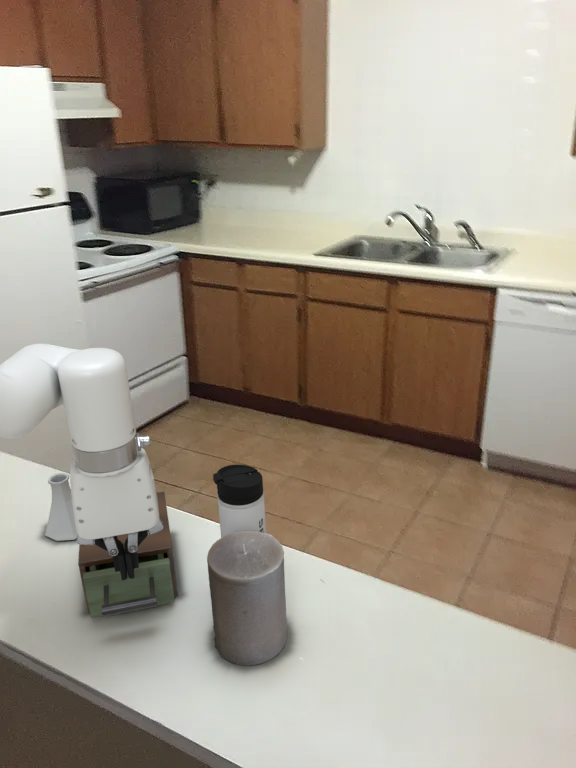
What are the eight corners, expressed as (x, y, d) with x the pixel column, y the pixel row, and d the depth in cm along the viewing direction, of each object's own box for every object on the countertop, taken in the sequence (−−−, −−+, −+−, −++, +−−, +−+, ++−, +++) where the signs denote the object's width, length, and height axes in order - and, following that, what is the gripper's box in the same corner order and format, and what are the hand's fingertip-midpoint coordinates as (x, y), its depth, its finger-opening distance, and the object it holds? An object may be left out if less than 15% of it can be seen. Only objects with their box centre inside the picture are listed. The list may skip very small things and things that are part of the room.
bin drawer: (178, 628, 89) (172, 588, 86) (89, 646, 87) (81, 605, 84) (167, 544, 106) (162, 508, 103) (93, 557, 103) (86, 520, 101)
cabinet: (178, 595, 96) (172, 547, 93) (87, 612, 94) (78, 563, 90) (170, 535, 109) (164, 491, 106) (90, 549, 107) (82, 504, 103)
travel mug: (218, 583, 98) (207, 465, 90) (261, 571, 100) (254, 455, 92) (230, 611, 93) (219, 489, 85) (275, 598, 95) (269, 478, 87)
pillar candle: (199, 648, 87) (189, 555, 81) (241, 602, 94) (234, 513, 88) (262, 677, 82) (256, 581, 76) (301, 626, 90) (298, 534, 84)
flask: (37, 539, 109) (25, 487, 105) (61, 514, 116) (50, 464, 112) (77, 544, 108) (66, 492, 104) (98, 518, 114) (89, 468, 110)
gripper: (166, 427, 85) (182, 545, 92) (44, 445, 82) (70, 565, 89) (171, 455, 78) (188, 580, 86) (38, 476, 75) (67, 603, 83)
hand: (127, 572), depth 87 cm, fingers closed
